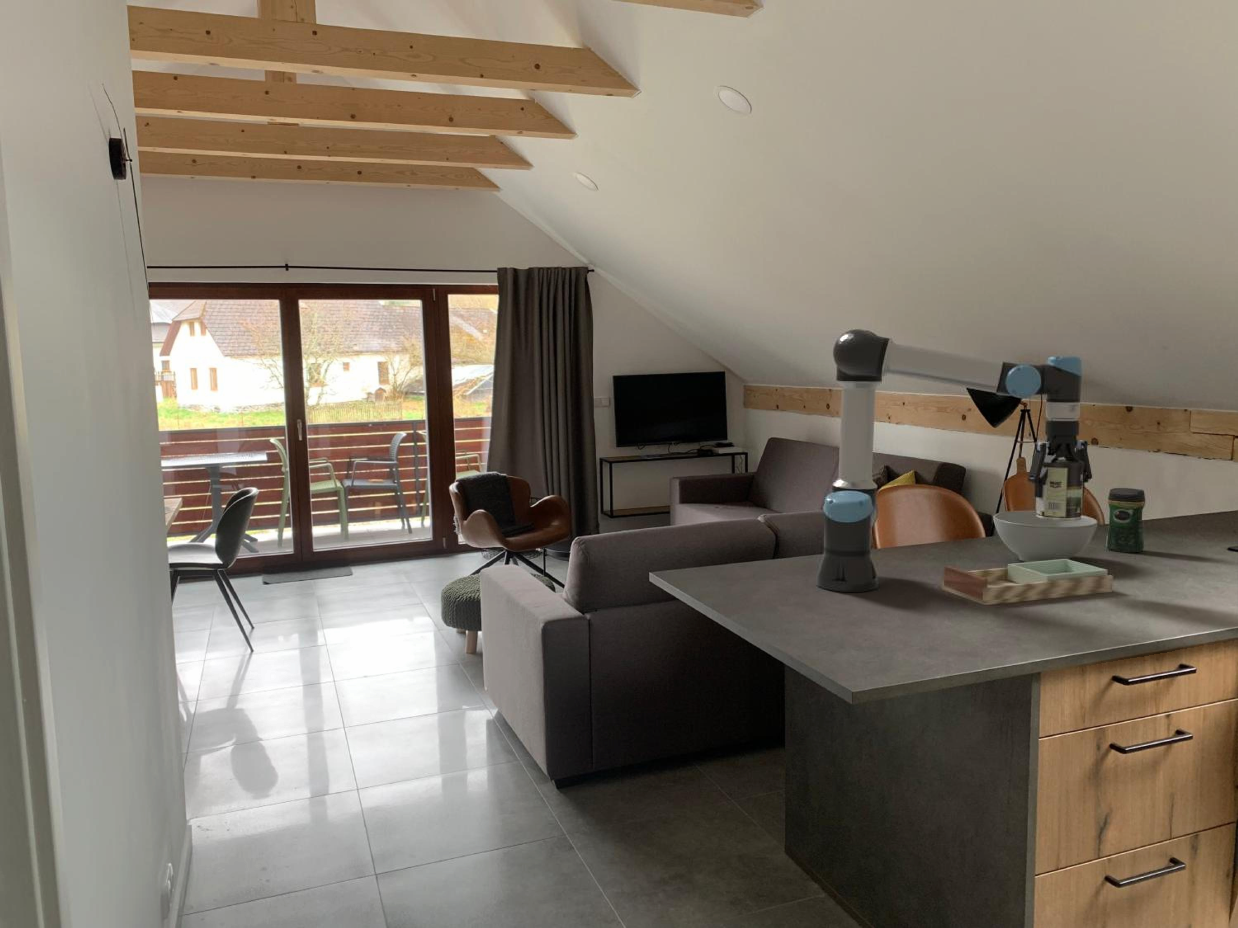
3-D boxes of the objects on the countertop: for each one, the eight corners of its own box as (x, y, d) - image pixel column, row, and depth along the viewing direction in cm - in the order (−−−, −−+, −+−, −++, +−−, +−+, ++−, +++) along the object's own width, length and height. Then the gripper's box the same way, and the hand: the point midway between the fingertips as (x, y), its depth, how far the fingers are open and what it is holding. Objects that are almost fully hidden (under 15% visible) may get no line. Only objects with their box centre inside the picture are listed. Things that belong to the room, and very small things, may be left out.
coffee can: (1075, 514, 233) (1077, 459, 232) (1087, 521, 223) (1089, 463, 222) (1031, 513, 235) (1033, 458, 234) (1041, 520, 225) (1043, 463, 224)
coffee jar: (1146, 550, 274) (1149, 488, 272) (1138, 554, 268) (1141, 491, 266) (1110, 546, 280) (1113, 485, 278) (1102, 550, 275) (1105, 488, 273)
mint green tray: (1046, 592, 222) (1047, 575, 221) (1007, 579, 235) (1007, 564, 234) (1106, 585, 227) (1107, 569, 227) (1065, 573, 240) (1065, 558, 240)
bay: (984, 605, 216) (985, 579, 215) (941, 589, 231) (942, 565, 230) (1112, 591, 226) (1113, 567, 226) (1063, 577, 242) (1064, 554, 241)
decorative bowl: (1045, 547, 279) (1046, 508, 277) (1118, 566, 254) (1120, 522, 252) (971, 554, 270) (972, 514, 269) (1039, 574, 245) (1041, 529, 244)
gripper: (1035, 421, 220) (1032, 514, 222) (1111, 419, 226) (1107, 508, 229) (1013, 420, 227) (1010, 509, 229) (1087, 417, 233) (1084, 504, 236)
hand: (1058, 509), depth 229 cm, fingers closed on coffee can, 10 cm apart
